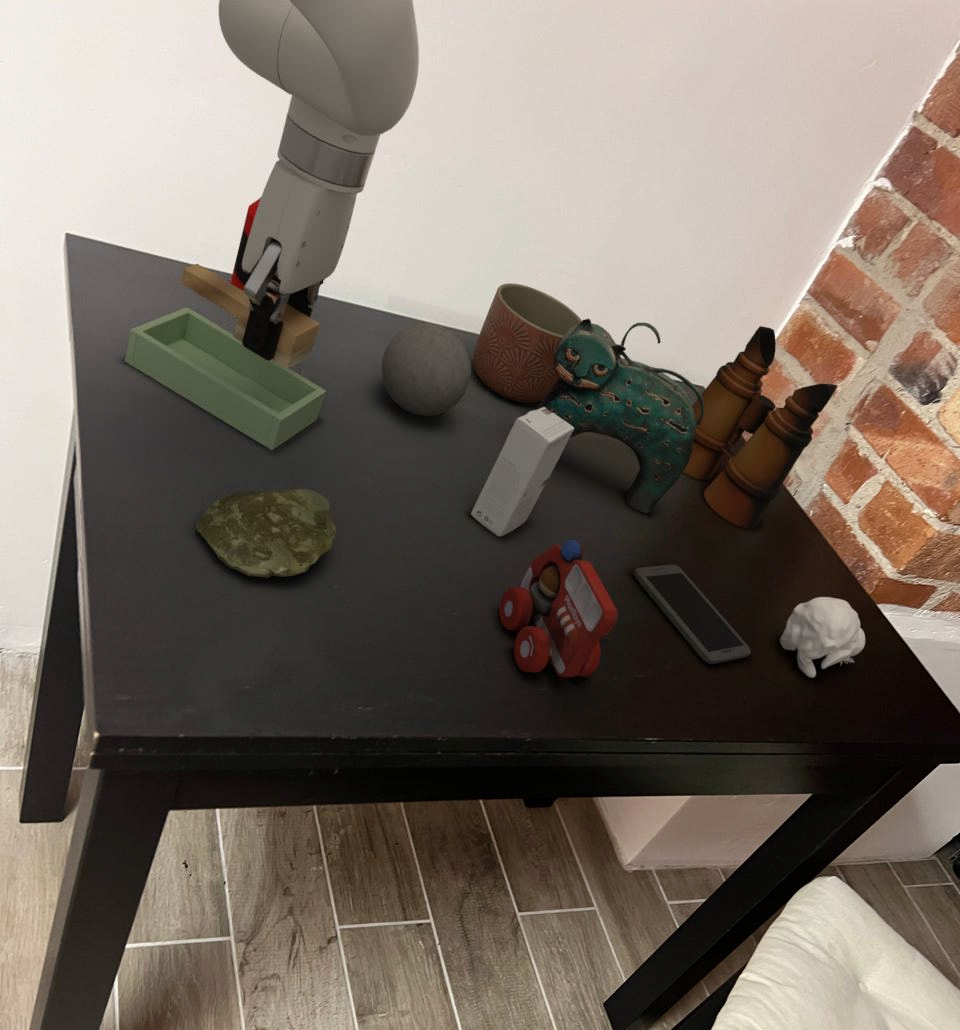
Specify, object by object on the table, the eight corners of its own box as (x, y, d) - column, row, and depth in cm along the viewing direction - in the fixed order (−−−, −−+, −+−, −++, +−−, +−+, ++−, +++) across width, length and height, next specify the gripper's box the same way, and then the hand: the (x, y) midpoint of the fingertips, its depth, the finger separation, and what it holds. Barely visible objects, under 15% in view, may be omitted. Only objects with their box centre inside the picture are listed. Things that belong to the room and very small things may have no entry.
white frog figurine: (812, 582, 96) (871, 588, 103) (760, 637, 100) (819, 640, 108) (850, 626, 92) (908, 629, 100) (794, 681, 97) (853, 680, 104)
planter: (473, 346, 124) (506, 272, 117) (554, 387, 126) (591, 316, 119) (455, 381, 115) (489, 303, 108) (542, 425, 116) (582, 350, 109)
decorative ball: (462, 438, 105) (497, 363, 99) (384, 427, 100) (416, 347, 94) (434, 389, 111) (465, 315, 105) (359, 376, 106) (387, 297, 99)
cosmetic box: (500, 539, 94) (552, 444, 86) (466, 514, 94) (515, 417, 87) (527, 521, 98) (579, 428, 91) (495, 497, 99) (543, 403, 92)
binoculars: (769, 527, 122) (866, 402, 110) (731, 529, 117) (829, 398, 105) (688, 442, 131) (769, 318, 119) (649, 441, 126) (731, 310, 114)
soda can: (276, 293, 112) (302, 197, 104) (300, 327, 108) (329, 231, 101) (217, 285, 107) (240, 185, 100) (241, 321, 103) (267, 219, 96)
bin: (124, 361, 89) (130, 328, 87) (180, 337, 96) (186, 306, 94) (271, 450, 88) (281, 420, 86) (316, 419, 95) (326, 390, 93)
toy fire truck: (549, 601, 89) (599, 521, 83) (591, 698, 82) (651, 618, 75) (487, 593, 86) (534, 509, 80) (525, 693, 78) (581, 609, 72)
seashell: (176, 514, 74) (267, 432, 74) (202, 532, 81) (285, 456, 82) (261, 605, 73) (352, 521, 74) (280, 615, 81) (363, 538, 81)
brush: (170, 300, 86) (177, 264, 84) (198, 289, 90) (205, 254, 87) (286, 369, 86) (296, 336, 84) (310, 356, 89) (320, 323, 87)
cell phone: (673, 568, 104) (676, 563, 103) (750, 657, 97) (754, 652, 96) (629, 572, 99) (633, 567, 99) (707, 666, 92) (711, 661, 92)
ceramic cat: (503, 455, 106) (582, 299, 94) (510, 430, 111) (586, 279, 99) (653, 524, 109) (748, 382, 97) (652, 497, 114) (743, 359, 102)
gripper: (335, 123, 83) (283, 304, 94) (231, 140, 70) (187, 349, 81) (405, 164, 83) (345, 341, 94) (315, 190, 69) (258, 392, 81)
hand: (272, 343), depth 87 cm, fingers closed on brush, 4 cm apart
